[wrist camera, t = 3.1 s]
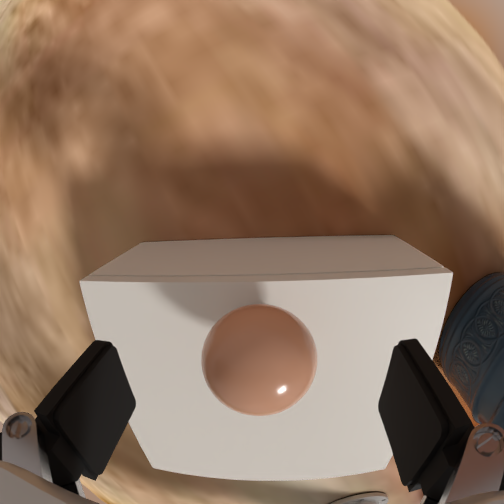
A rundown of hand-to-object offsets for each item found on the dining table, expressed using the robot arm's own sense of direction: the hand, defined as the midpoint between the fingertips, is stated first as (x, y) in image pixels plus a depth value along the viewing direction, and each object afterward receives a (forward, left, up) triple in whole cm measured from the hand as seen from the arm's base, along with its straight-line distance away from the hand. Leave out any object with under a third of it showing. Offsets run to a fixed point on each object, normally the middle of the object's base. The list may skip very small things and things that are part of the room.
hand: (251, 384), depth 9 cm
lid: (-7, 0, -6) cm, 9 cm away
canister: (-8, -23, -14) cm, 28 cm away
